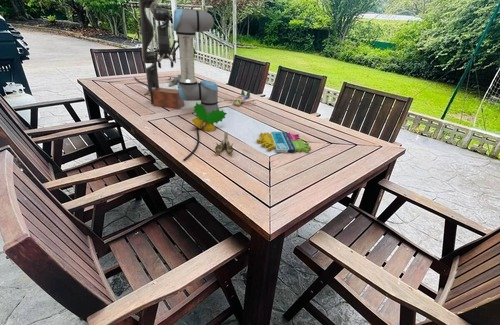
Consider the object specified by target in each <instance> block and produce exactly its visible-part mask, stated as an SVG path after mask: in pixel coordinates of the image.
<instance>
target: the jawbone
mask: <svg viewBox="0 0 500 325" xmlns="http://www.w3.org/2000/svg"><path fill="white" fill-rule="evenodd" d="M223 135H224V136H223V140H222V139H221V142H220V144H218V142H215V144H216V146H215V148H214V149H215V152H214V154H215V155H217V156H218V155H220V153H221V152H223V151H224V150H226V152H227V153H228V155H229V156H233V155H234V154H233V153H234V148H233V144H234V143H230V140H228V139H229V138H228V137H229V136H228V135H229V133H228V131H226V132H224V134H223Z"/></svg>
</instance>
